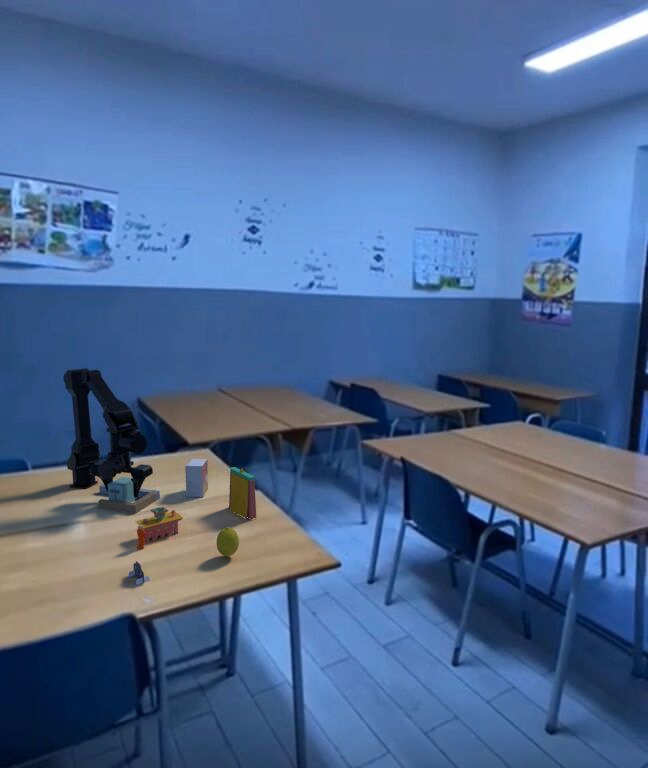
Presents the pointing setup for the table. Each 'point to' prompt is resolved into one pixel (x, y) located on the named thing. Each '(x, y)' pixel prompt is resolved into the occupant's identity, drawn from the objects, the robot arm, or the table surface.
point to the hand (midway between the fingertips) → (122, 495)
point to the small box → (196, 477)
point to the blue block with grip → (121, 490)
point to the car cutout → (139, 576)
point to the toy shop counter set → (166, 523)
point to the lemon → (227, 541)
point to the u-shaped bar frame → (144, 501)
